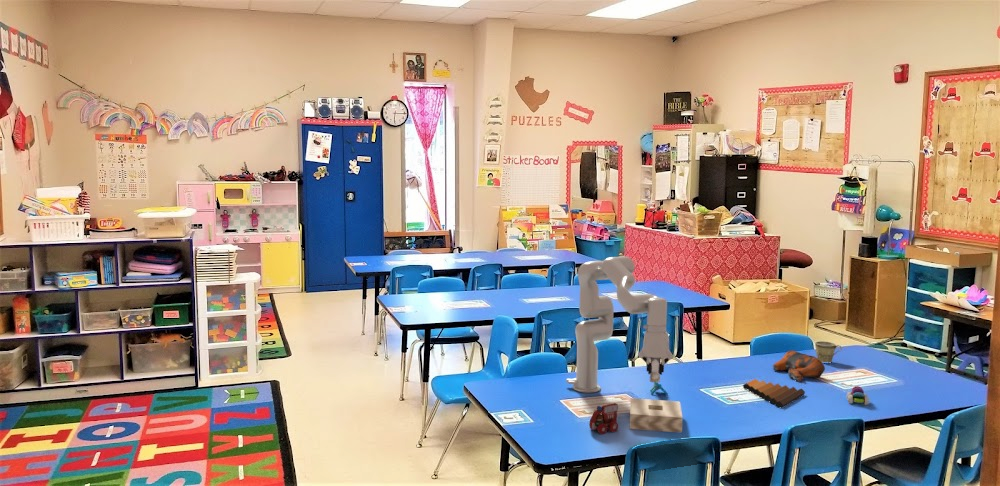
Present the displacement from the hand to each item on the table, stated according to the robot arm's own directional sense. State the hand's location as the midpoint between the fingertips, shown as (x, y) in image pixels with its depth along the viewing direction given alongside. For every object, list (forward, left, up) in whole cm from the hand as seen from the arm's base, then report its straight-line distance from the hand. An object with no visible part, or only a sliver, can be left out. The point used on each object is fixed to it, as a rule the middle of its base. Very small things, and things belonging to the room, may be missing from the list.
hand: (655, 373), depth 308 cm
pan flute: (+51, +46, -21) cm, 71 cm away
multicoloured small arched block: (+89, +44, -20) cm, 101 cm away
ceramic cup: (+92, +112, -20) cm, 146 cm away
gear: (+3, +37, -20) cm, 42 cm away
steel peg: (0, 0, -3) cm, 3 cm away
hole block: (+1, -1, -20) cm, 20 cm away
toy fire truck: (-19, -15, -20) cm, 32 cm away
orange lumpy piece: (+70, +85, -20) cm, 112 cm away
